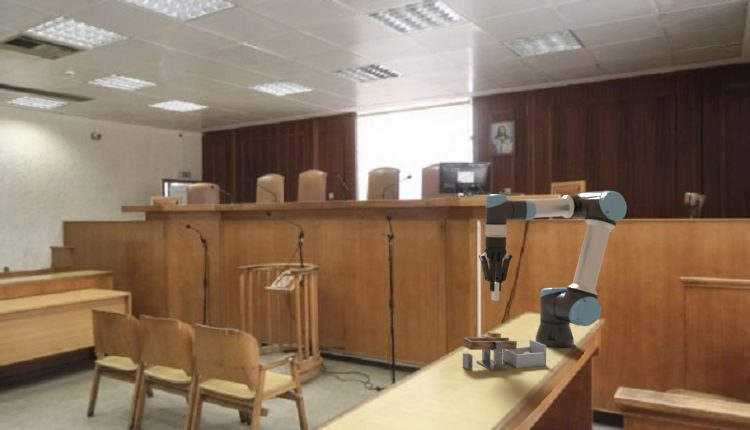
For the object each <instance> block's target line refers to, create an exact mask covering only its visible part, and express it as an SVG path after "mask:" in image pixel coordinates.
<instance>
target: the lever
mask: <svg viewBox="0 0 750 430" xmlns="http://www.w3.org/2000/svg"><path fill="white" fill-rule="evenodd" d="M486 332H487V333H486V334H487V335H486V336H490V337H491V338H482V337H462V346H463V347H464V348H466V349H468V350H470V351H471V350H472V351H474V350H475V351H478V350H479V351H482V350H490V351H492V350H493V349H494V341H502V350H503V349H516V348H518V346H517V343H518V341H517V340H510V338H509V337H502V333H501V332H499V331H496V330H495V331H494V330H493V331H492V330H491V331H486Z"/></svg>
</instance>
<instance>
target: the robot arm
mask: <svg viewBox="0 0 750 430" xmlns="http://www.w3.org/2000/svg"><path fill="white" fill-rule="evenodd" d="M627 207H628V206H627V203H626V200H625V198H624V196H623V195H622V194H620V193H619V192H617V191H614V190H612V191H611V190H603V191H602V190H601V191H599V190H597V191H584V192H580V193H574V194H566V195H565V194H564V195H562V196H561V197H554V198H553V197H552V198H532V199H531V198H530V199H528V198H527V199H512V200H511V199H508V198H507V195H506V194H501V193H500V194H498V193H497V194H496V193H495V194H492V193H491V194H487V195H486V198H485V241H484V243H485V244H484V245H485V249H484V252H483V253H482V254H479V255H478V258H479V261H480V263H481V267H482V272H483V278H484V281H487V282H488V283H489V291H490V292H491V293H490V294H491V296H490V297H491V300H492V301H495V302H496V301H497V302H499V301H500V292H501V291H502V283H504V282H505V281H506V280H507V276H508V271H509V267H510V264H511V263H510V262H511V260H512V258H513V255H512V254H509V253H508V251H507V248H506V246H507V237H506V236H507V221H525V222H526V221H531V220H533V219H534V218H549V217H551V218H553V217H562V218H564V219H579V220H584V222H585V224H586V231H585V233H584V237H583V241H582V245H581V250H580V251H579V252H580V254H579V257H578V261H577V264H576V269H575V273H574V276H573V279H572V280H573V281H572V283H571V284H570V285H567V287H544V288H542V289H541V290H540V295H539V299H540V302H539V303H540V307H539V309H540V310H539V312H540V314H539V315H540V316H539V318H540V319H539V326H538V329H537V332H536V334H535V341H536V342H538V343H541V344H544V345H546V347H551V348H552V347H553V348H570V347H573V346H575V338H574V336H573V332H572V329H571V326H570V325H571V324H573V325H575V326H578V327H580V326H581V327H589V326H590V327H591V325H594V324H595V323H596V322H597V321H598V320H599V319H600V315H601V313H602V312H601V311H602V306H601V305H600V302H599V300H598V298H599V294H598V292H597V291H596V288H597V285H598V280H599V276H600V274H601V273H600V272H601V267H602V266H603V265H602V264H603V260H604V256H605V252H606V249H607V245H608V241H609V237H610V233H611V231H612V230H614V229H615V228H616V226H617V222H619V221H621V220H622V219H623V218H625V216H626V214H627Z"/></svg>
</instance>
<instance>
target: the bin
mask: <svg viewBox="0 0 750 430" xmlns="http://www.w3.org/2000/svg"><path fill="white" fill-rule="evenodd" d="M524 352H530V353H529V354H523V353H524ZM503 362H504V363H506V364H507V365H509V366H512V367H514V368H516V369H518V368H519V369H521V368H532V367H543V366H547V346H546V345H544V344H541V343H538V342H536V340H533V339H529V346H521V347H520V346H519V347H518V346H517V347H516V349H502V363H503Z"/></svg>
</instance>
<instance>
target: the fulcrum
mask: <svg viewBox="0 0 750 430" xmlns="http://www.w3.org/2000/svg"><path fill="white" fill-rule="evenodd" d="M481 338H491V337H490V336H487V335H482V337H481ZM481 352H482V353H481V360H476V363H477V364H479V365H481V366H482V367H484V368H486V369H487V370H489V371H491V372H497V371H499V372H500V371H508V370H509V368H508V367H507V366H504V365H503V361H502V359H503V349H502V341H494V349H493V350H481ZM491 352H493V359H491ZM473 358H474V356H473V355H472V354H471V353H469V352H462V367H463V368H464V369H466V370H468V371H471V370H473Z"/></svg>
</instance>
